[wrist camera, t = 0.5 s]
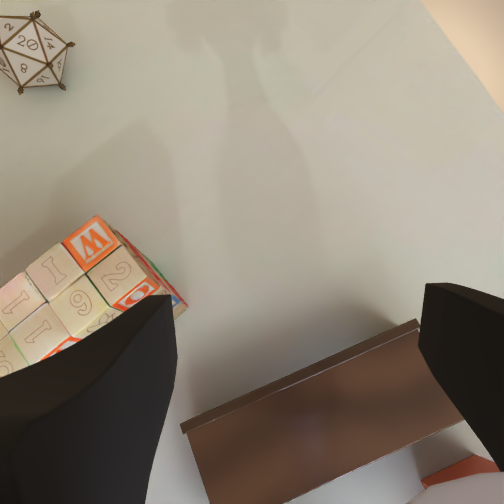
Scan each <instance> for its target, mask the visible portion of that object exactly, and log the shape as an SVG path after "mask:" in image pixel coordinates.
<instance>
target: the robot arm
mask: <svg viewBox="0 0 504 504" xmlns="http://www.w3.org/2000/svg"><path fill="white" fill-rule="evenodd" d="M418 348H419V350H420V352H421V354H422V356H423V358H424V360H425V362H426V364H427V366H428V367H429V369H430V371H431V373H432V375H433V376H434V378H435V379H436V381H437V382H438V383H439V385H440V386H441V388H442V389H443V390H444V392H445V393H446V395H447V396H448V397H449V399H450V400H451V401H452V403H453V404H454V405H455V407H456V408H457V410H458V411H459V412H460V414H461V415H462V416H463V418H464V419H465V420H466V422H467V423H468V424H469V426H470V427H471V429H472V430H473V431H474V433H475V434H476V435H477V437H478V438H479V439H480V441H481V442H482V444H483V445H484V447H485V448H486V450H487V451H488V452H489V454H490V455H491V457H492V458H493V460H494V462H495V463H496V465H497V467H498V469H499V470H500V472H492V473H479V474H475V475H471V476H467V477H463V478H459V479H455V480H451V481H447V482H443V483H439V484H435V485H432V486H429V487H428V488H427V489H425V490H424V491H422V492H421V493H420V494H418V495H417V496H416V497H414V498H413V499H412V500H410V501H409V502H407V503H406V504H504V299H502V298H499V297H496V296H493V295H490V294H487V293H484V292H481V291H478V290H475V289H471V288H468V287H465V286H461V285H457V284H452V283H426V285H425V293H424V301H423V309H422V317H421V324H420V332H419V340H418ZM177 359H178V355H177V346H176V336H175V326H174V316H173V306H172V297H171V294H165V295H149V296H147V297H145V298H143V299H142V300H140V301H139V302H137V303H136V304H134V305H133V306H132V307H130V308H129V309H127V310H126V311H124V312H123V313H122V314H120V315H119V316H117V317H116V318H114V319H113V320H112V321H110V322H109V323H107V324H106V325H104V326H102V327H101V328H99V329H98V330H96V331H94V332H93V333H91V334H90V335H88V336H86V337H85V338H83V339H82V340H80V341H78V342H76V343H75V344H73V345H71V346H69V347H67V348H66V349H64V350H62V351H60V352H58V353H56V354H54V355H52V356H50V357H48V358H46V359H43V360H41V361H39V362H37V363H34V364H32V365H30V366H27V367H25V368H22V369H20V370H17V371H15V372H13V373H10V374H8V375H5V376H3V377H0V504H145V500H146V494H147V488H148V482H149V477H150V473H151V469H152V464H153V460H154V456H155V453H156V449H157V446H158V442H159V439H160V435H161V432H162V428H163V425H164V421H165V418H166V414H167V410H168V407H169V403H170V400H171V396H172V392H173V388H174V382H175V375H176V367H177Z"/></svg>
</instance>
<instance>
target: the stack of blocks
mask: <svg viewBox="0 0 504 504" xmlns="http://www.w3.org/2000/svg"><path fill="white" fill-rule="evenodd" d="M165 294H171V297H172V306H173V316H174V320H175V319H176V318H177V317H178V316H179V315H181V314H182V313H183V312H184V311H185V310H186V309H188V306H187V304H186V303H185V302H184V301H183V299H182V298H181V297H180V296H179V294H178V293H177V292H176V291H175V289H174V288H173V287H172V286H171V285H170V284H169V283H168V282H167V281H166V279H165V278H164V277H163V276H162V274H161V273H160V272H159V271H158V269H157V268H156V267H155V266H154V264H153V263H152V262H151V261H150V260H149V259H148V258H147V257H145V256H144V255H143V254H142V253H141V252H140V251H138V250H137V249H136V248H135V247H134V246H133V245H132V244H131V243H130V242H129V241H128V240H127V239H126V238H125V237H123V236H122V235H121V234H120V233H119V232H118V231H117V230H114V229H113V228H112V227H111V226H110V225H109V224H108V223H107V222H105V221H104V220H103V219H102V218H101V217H100V216H99V215H95V216H94V217H93V218H91V219H90V220H89V221H87V222H86V223H85V224H84V225H82V226H81V227H80V228H79V229H77V230H76V231H75V232H73V233H72V234H71V235H70V236H68V237H67V238H66V239H64V240H63V242H62V243H57V244H55V245H54V246H53V247H52V248H50V249H49V250H48V251H47V252H45V253H44V254H43V255H42V256H40V257H39V258H38V259H37V260H35V261H34V262H33V263H32V264H31V265H29V266H28V267H27V268H26V269H25V271H23V272H20V273H19V274H18V275H16V276H15V277H14V278H13V279H11V280H10V281H9V282H8V283H7V284H5V285H4V286H3V287H2V288H0V377H3V376H5V375H8V374H10V373H13V372H15V371H17V370H20V369H22V368H25V367H27V366H30V365H32V364H34V363H37V362H39V361H41V360H43V359H46V358H48V357H50V356H52V355H54V354H56V353H58V352H60V351H62V350H64V349H66V348H67V347H69V346H71V345H73V344H75V343H76V342H78V341H80V340H82V339H83V338H85V337H86V336H88V335H90V334H91V333H93V332H94V331H96V330H98V329H99V328H101V327H102V326H104V325H106V324H107V323H109V322H110V321H112V320H113V319H114V318H116V317H117V316H119V315H120V314H122V313H123V312H124V311H126V310H127V309H129V308H130V307H132V306H133V305H134V304H136V303H137V302H139V301H140V300H142V299H143V298H145V297H147V296H149V295H165Z"/></svg>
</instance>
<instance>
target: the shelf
mask: <svg viewBox="0 0 504 504" xmlns="http://www.w3.org/2000/svg"><path fill="white" fill-rule="evenodd" d="M419 328H420V324H419V323H418V321H417V319H413V320H411V321H408V322H406V323H404V324H402V325H399V326H397V327H395V328H393V329H390V330H388V331H386V332H384V333H382V334H379V335H377V336H375V337H373V338H370V339H368V340H366V341H364V342H361V343H359V344H357V345H355V346H353V347H350V348H348V349H346V350H344V351H341V352H339V353H337V354H335V355H332V356H330V357H328V358H326V359H323V360H321V361H319V362H317V363H314V364H312V365H310V366H308V367H306V368H303V369H301V370H299V371H297V372H294V373H292V374H290V375H288V376H285V377H283V378H281V379H279V380H276V381H274V382H272V383H270V384H268V385H265V386H263V387H261V388H259V389H256V390H254V391H252V392H250V393H247V394H245V395H243V396H241V397H238V398H236V399H234V400H232V401H229V402H227V403H225V404H223V405H221V406H218V407H216V408H214V409H212V410H209V411H207V412H205V413H203V414H200V415H198V416H196V417H194V418H191V419H189V420H187V421H185V422H183V423H181V424H180V426H181V429H182V432H183V434H185V433H187V436H188V439H189V442H190V445H191V448H192V451H193V454H194V457H195V460H196V463H197V466H198V469H199V472H200V475H201V478H202V481H203V484H204V487H205V490H206V493H207V496H208V498H209V501H210V504H283V503H286V502H288V501H290V500H292V499H294V498H296V497H299V496H301V495H303V494H305V493H307V492H309V491H312V490H314V489H316V488H318V487H320V486H322V485H325V484H327V483H329V482H331V481H333V480H335V479H338V478H340V477H342V476H344V475H346V474H348V473H350V472H353V471H355V470H357V469H359V468H361V467H363V466H366V465H368V464H370V463H372V462H374V461H376V460H379V459H381V458H383V457H385V456H387V455H389V454H392V453H394V452H396V451H398V450H400V449H402V448H405V447H407V446H409V445H411V444H413V443H415V442H418V441H420V440H422V439H424V438H426V437H428V436H430V435H433V434H435V433H437V432H439V431H441V430H443V429H446V428H448V427H450V426H452V425H454V424H456V423H459V422H461V421H463V420H465V419H464V418H463V416H462V415H461V414H460V412H459V411H458V410H457V408H456V407H455V405H454V404H453V403H452V401H451V400H450V399H449V397H448V396H447V395H446V393H445V392H444V390H443V389H442V388H441V386H440V385H439V383H438V382H437V381H436V379H435V378H434V376H433V375H432V373H431V371H430V369H429V367H428V366H427V364H426V362H425V360H424V358H423V356H422V354H421V352H420V350H419V348H418V340H419V331H418V330H417V329H419Z"/></svg>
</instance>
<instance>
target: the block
mask: <svg viewBox="0 0 504 504" xmlns="http://www.w3.org/2000/svg"><path fill="white" fill-rule="evenodd" d="M492 472H500V470H499V469H498V467H497V465H496V463H495V462H492V461H490V460H487V459H485V458H483V457H480V456H478V455H473V456H471V457H469V458H467V459H464V460H462V461H460V462H458V463H456V464H454V465H452V466H450V467H447V468H445V469H443V470H441V471H439V472H437V473H435V474H432V475H430V476H428V477H426V478H424V479H422V480H421V482H422V484H423V486H424V488H425V489H427V488H428V487H429V486H432V485H435V484H439V483H443V482H447V481H451V480H455V479H459V478H463V477H467V476H471V475H475V474H479V473H492Z"/></svg>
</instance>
